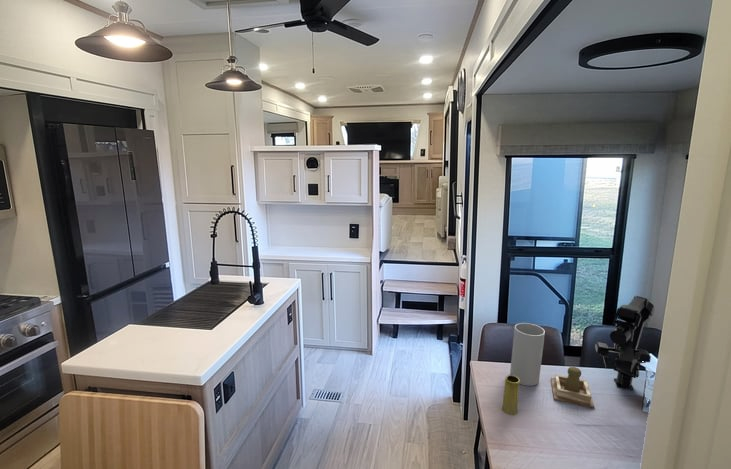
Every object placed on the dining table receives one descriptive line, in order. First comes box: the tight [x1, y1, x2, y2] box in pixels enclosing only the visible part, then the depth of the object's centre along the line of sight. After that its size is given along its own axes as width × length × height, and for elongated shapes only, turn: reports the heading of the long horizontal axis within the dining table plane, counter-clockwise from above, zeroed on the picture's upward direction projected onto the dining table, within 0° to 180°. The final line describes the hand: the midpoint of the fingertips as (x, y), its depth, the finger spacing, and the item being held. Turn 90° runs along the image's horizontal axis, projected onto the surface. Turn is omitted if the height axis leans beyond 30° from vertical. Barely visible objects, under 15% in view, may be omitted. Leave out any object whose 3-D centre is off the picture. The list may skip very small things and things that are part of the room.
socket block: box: [550, 373, 595, 410], centre depth 164 cm, size 16×15×4 cm
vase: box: [501, 374, 520, 416], centre depth 152 cm, size 6×6×14 cm
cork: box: [564, 366, 582, 393], centre depth 163 cm, size 6×6×11 cm
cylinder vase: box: [509, 322, 546, 387], centre depth 172 cm, size 12×12×25 cm
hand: (618, 370), depth 159 cm, fingers open, 9 cm apart
